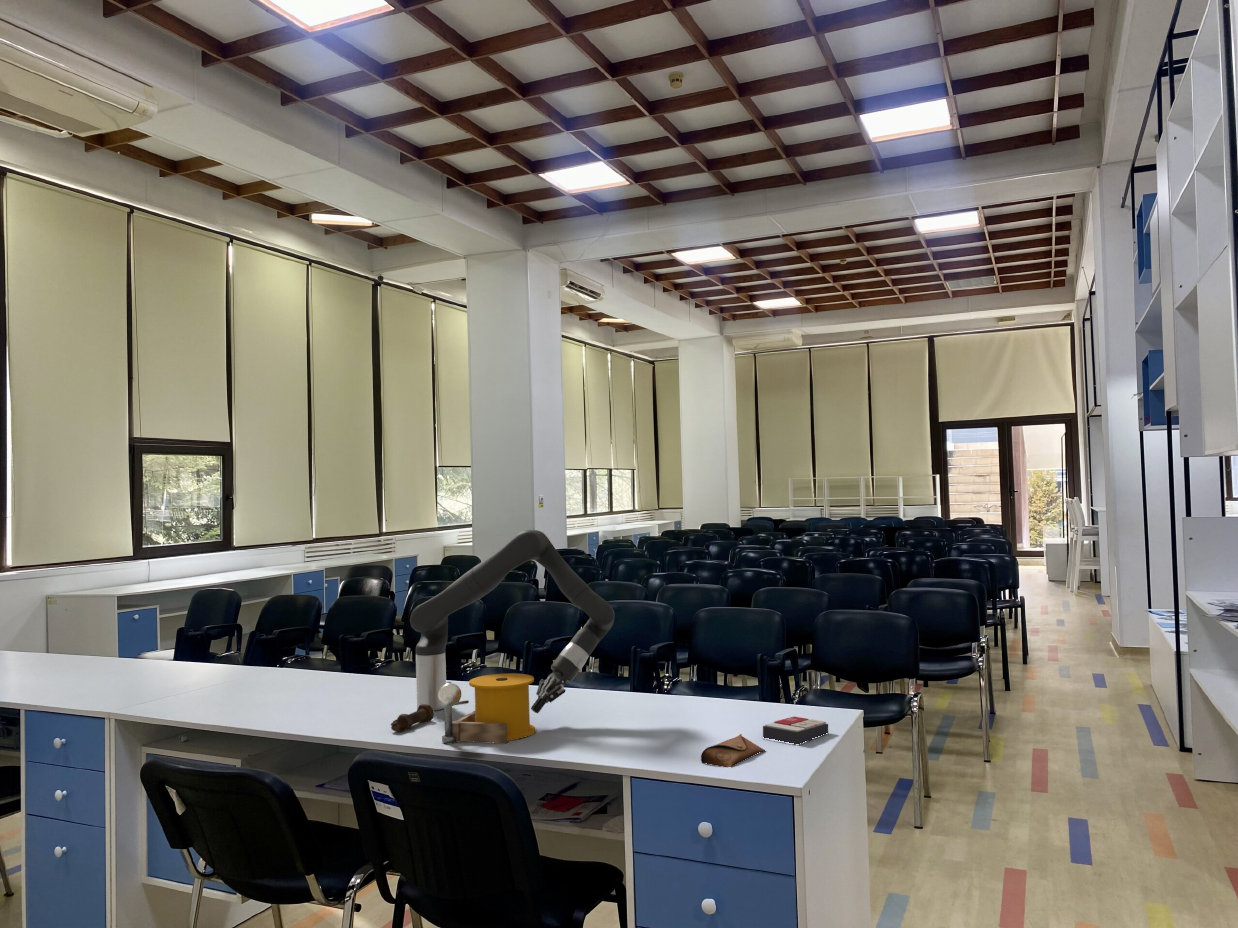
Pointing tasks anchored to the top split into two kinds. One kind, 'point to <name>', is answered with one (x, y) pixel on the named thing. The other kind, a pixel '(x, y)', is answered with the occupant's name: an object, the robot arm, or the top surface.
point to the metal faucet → (449, 707)
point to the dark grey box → (795, 729)
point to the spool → (504, 702)
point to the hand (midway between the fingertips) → (534, 711)
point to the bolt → (413, 718)
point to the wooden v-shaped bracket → (478, 730)
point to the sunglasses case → (730, 752)
